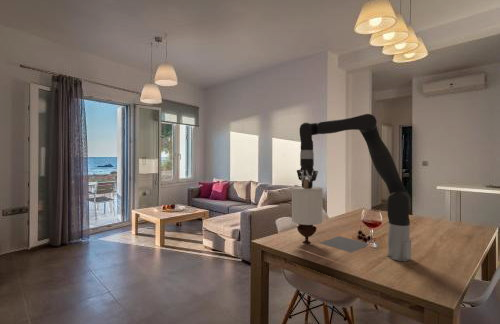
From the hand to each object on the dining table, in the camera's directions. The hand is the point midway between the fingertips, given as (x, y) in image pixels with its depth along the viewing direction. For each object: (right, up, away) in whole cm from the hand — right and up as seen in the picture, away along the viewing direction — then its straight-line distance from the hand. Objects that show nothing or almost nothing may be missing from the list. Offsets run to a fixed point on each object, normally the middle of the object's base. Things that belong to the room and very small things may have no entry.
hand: (307, 187), depth 157 cm
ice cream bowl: (0, -33, +1) cm, 33 cm away
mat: (+21, -32, -1) cm, 39 cm away
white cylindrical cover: (0, -19, +1) cm, 19 cm away
